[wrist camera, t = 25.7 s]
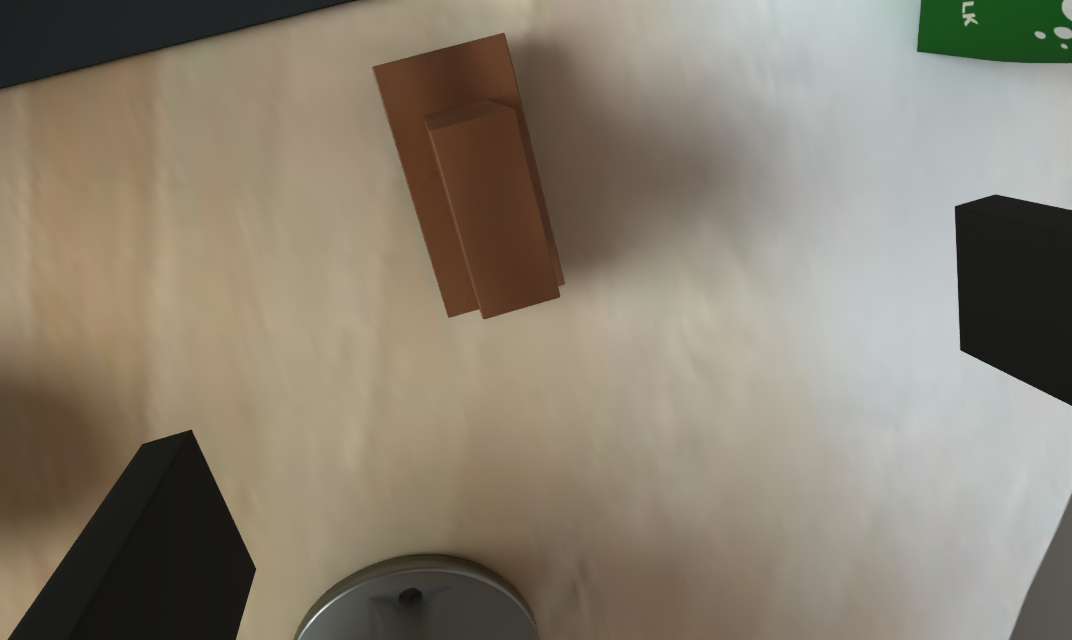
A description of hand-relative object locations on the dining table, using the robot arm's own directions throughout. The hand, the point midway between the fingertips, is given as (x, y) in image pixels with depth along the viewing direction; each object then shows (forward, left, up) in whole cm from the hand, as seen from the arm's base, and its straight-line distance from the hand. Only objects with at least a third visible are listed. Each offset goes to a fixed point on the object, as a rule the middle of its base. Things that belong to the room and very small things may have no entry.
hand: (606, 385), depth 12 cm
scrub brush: (0, 0, -27) cm, 27 cm away
